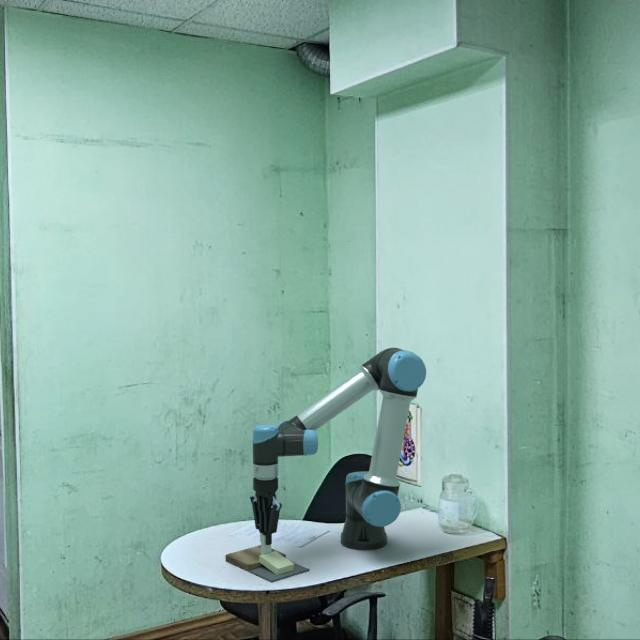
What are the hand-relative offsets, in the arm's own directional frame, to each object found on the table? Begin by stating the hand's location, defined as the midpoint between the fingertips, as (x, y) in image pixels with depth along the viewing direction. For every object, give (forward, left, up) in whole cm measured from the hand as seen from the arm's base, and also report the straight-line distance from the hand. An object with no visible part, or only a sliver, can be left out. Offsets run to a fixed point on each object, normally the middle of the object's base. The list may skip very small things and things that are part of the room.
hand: (266, 554), depth 251 cm
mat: (0, +7, -3) cm, 7 cm away
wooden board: (0, -5, -3) cm, 6 cm away
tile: (0, +5, -2) cm, 5 cm away
